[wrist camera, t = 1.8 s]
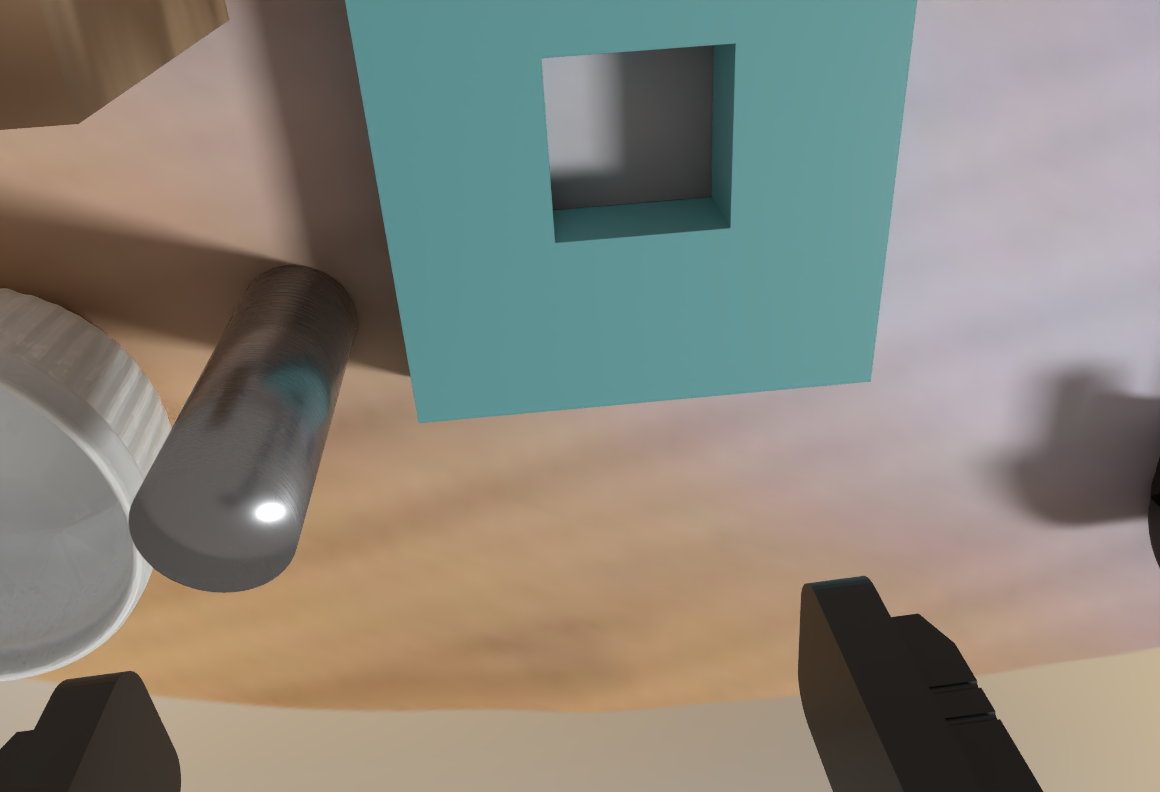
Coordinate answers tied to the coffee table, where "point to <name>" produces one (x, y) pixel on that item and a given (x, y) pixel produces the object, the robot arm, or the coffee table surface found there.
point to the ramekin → (68, 484)
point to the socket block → (633, 231)
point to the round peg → (249, 438)
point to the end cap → (1155, 514)
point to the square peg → (88, 52)
